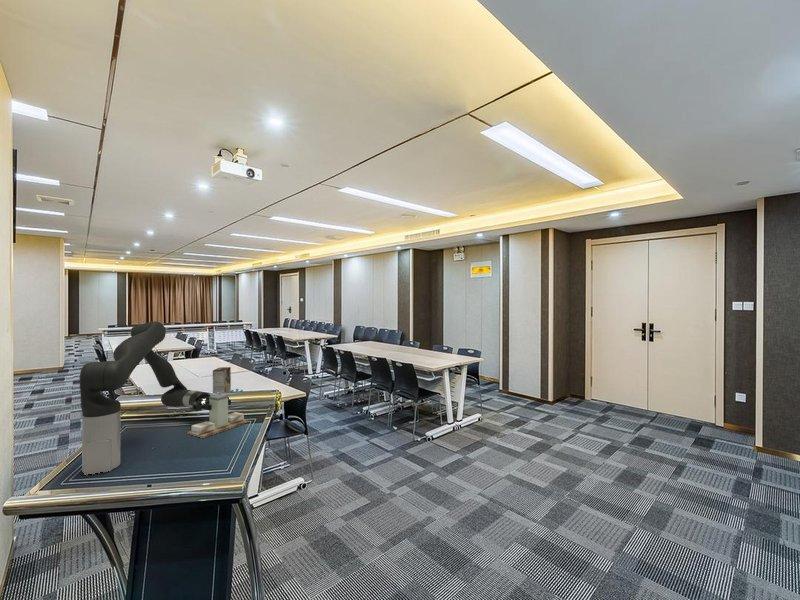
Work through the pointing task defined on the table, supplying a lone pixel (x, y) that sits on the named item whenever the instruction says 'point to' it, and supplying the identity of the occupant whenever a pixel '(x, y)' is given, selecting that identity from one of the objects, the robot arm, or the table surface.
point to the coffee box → (222, 379)
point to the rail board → (210, 429)
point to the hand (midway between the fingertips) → (220, 405)
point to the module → (219, 410)
